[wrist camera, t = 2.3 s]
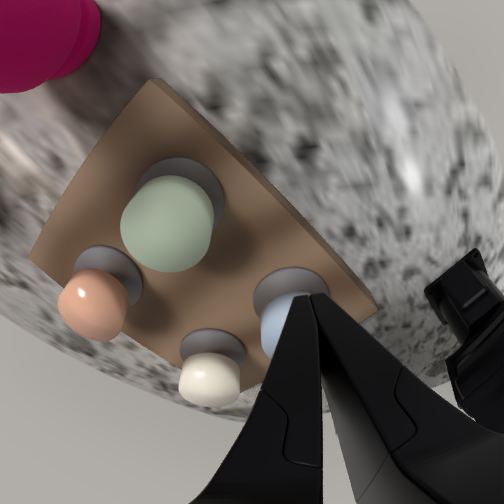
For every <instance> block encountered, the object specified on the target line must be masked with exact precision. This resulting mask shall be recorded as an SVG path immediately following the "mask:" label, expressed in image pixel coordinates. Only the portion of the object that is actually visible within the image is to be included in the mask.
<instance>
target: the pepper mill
mask: <svg viewBox="0 0 504 504" xmlns="http://www.w3.org/2000/svg"><path fill="white" fill-rule="evenodd" d="M100 28H101V17H100V12H99V9H98V7H97V5H96V3H95V2H94V1H93V0H0V93H2V94H4V93H18V92H24V91H27V90H30V89H33V88H35V87H37V86H39V85H40V84H42V83H43V82H45V81H46V80H47V79H55V78H60V77H64V76H66V75H68V74H70V73H72V72H74V71H75V70H76V69H78V68H79V67H80V66H81V65H82V64H83V63H84V62H85V61H86V60H87V59H88V57H89V56H90V54H91V53H92V51H93V49H94V48H95V46H96V43H97V40H98V37H99V33H100Z"/></svg>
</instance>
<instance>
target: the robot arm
mask: <svg viewBox="0 0 504 504" xmlns="http://www.w3.org/2000/svg"><path fill="white" fill-rule="evenodd" d="M424 294H425V295H426V297H427V298H428V300H429V302H430V303H431V305H432V307H433V308H434V310H435V312H436V313H437V315H438V317H439V318H440V320H441V322H442V324H443V325H447V324H448V325H449V326H450V328H451V330H452V331H453V333H454V335H455V336H456V338H457V340H458V341H459V343H460V345H461V347H460V348H459V349H458V350H457V351H456V352H455V353H453V354H452V355H451V356H449V357H448V358H447V359H446V360H445V361H446V365H447V370H448V374H449V377H450V381H451V384H452V388H453V391H454V396H455V399H456V402H457V405H458V407H459V408H460V409H463V410H464V411H465V412H466V413H467V414H468V415H469V416H470V417H472V418H474V419H475V421H476V422H475V421H474V420H472V419H471V418H470V417H468V416H467V415H466V414H464V413H463V412H461V411H460V410H459V409H457V408H456V407H454V406H453V405H452V404H450V403H449V402H448V401H446V400H445V399H444V398H442V397H441V396H440V395H438V394H437V393H436V392H435V391H433V390H432V389H431V388H429V387H428V386H427V385H426V384H425V383H423V382H422V381H421V380H420V379H419V378H418V377H417V376H415V375H414V374H413V373H412V372H411V371H410V370H409V369H408V368H407V367H406V366H404V365H403V366H402V363H401V362H400V361H399V360H398V359H397V358H396V357H395V356H394V355H393V354H392V353H390V352H389V351H388V350H387V349H386V348H385V347H384V346H383V345H382V344H381V343H380V342H379V341H377V340H376V339H375V338H374V337H373V336H372V335H371V334H370V333H369V332H368V331H367V330H365V329H364V328H363V327H362V326H361V325H360V324H359V323H358V322H357V321H356V320H355V319H353V318H352V317H351V316H350V315H349V314H348V313H347V312H346V311H345V310H344V309H342V308H341V307H340V306H339V305H338V304H337V303H336V302H335V301H334V300H332V299H331V298H330V297H329V296H328V295H327V294H326V293H324V292H320V293H313V294H310V296H309V295H299V296H295V297H294V298H293V300H292V303H291V306H290V308H289V311H288V314H287V317H286V320H285V323H284V326H283V328H282V331H281V334H280V337H279V340H278V342H277V345H276V348H275V351H274V354H273V356H272V359H271V362H270V364H269V367H268V370H267V372H266V375H265V378H264V380H263V383H262V386H261V388H260V389H261V390H260V391H259V393H258V396H257V398H256V401H255V403H254V405H253V408H252V410H251V412H250V414H249V417H248V419H247V421H246V423H245V425H244V427H243V428H242V430H241V432H240V434H239V436H238V437H237V439H236V441H235V443H234V444H233V446H232V447H231V449H230V451H229V452H228V454H227V455H226V457H225V459H224V460H223V462H222V463H221V465H220V467H219V468H218V470H217V471H216V473H215V474H214V476H213V477H212V479H211V481H210V482H209V483H208V485H207V486H206V487H205V488H204V490H203V491H202V492H201V493H200V494H199V495H198V496H197V497H196V498H195V499H194V500H193V501H191V502H190V503H189V504H323V470H322V469H323V421H322V386H321V381H322V384H323V388H324V391H325V394H326V398H327V401H328V405H329V408H330V411H331V414H332V418H333V421H334V425H335V429H336V432H337V436H338V439H339V443H340V446H341V450H342V453H343V457H344V460H345V464H346V468H347V471H348V475H349V479H350V482H351V486H352V490H353V493H354V497H355V501H356V503H357V504H504V295H503V294H502V293H501V292H500V290H499V289H498V288H497V287H496V286H495V284H494V283H493V282H492V281H491V280H490V279H489V277H488V274H487V271H486V268H485V265H484V262H483V259H482V256H481V253H480V251H479V250H478V249H477V248H474V249H473V250H471V251H470V252H469V253H468V254H467V255H466V256H464V257H463V258H462V259H461V260H460V261H458V262H457V263H456V264H455V265H454V266H452V267H451V268H450V269H449V270H447V271H446V272H445V273H444V274H442V275H441V276H440V277H439V278H437V279H436V280H435V281H433V282H432V283H431V284H430V285H428V286H427V287H426V288H425V289H424Z"/></svg>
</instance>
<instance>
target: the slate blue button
mask: <svg viewBox="0 0 504 504" xmlns="http://www.w3.org/2000/svg"><path fill="white" fill-rule="evenodd" d="M310 294H311V293H307V292H290V293H286V294H282V295H280V296H278V297H276V298H274V299H273V300H271V301H270V302H269V303H268V304H267V305H266V306H265V307H264V309H263V311H262V313H261V316H260V326H261V343H262V348H263V350H264V352H265V353H266V354H267V355H268V356H269V357H270V358H272V356H273V354H274V351H275V348H276V345H277V342H278V340H279V337H280V334H281V331H282V328H283V326H284V323H285V320H286V317H287V314H288V311H289V308H290V306H291V303H292V300H293V298H294V297H295V296H299V295H309V296H310Z"/></svg>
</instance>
